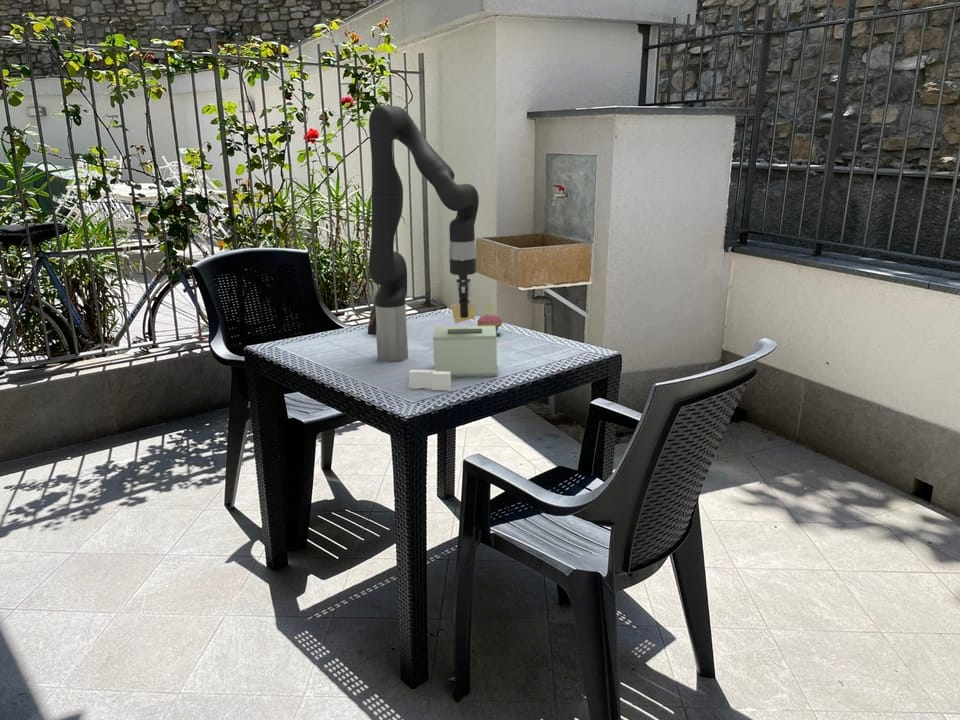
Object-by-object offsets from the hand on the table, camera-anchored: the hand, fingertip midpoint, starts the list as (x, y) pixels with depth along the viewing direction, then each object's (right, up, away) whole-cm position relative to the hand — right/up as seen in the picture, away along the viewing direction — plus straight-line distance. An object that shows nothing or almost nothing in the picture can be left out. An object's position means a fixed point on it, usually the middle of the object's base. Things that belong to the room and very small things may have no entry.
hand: (464, 315), depth 215 cm
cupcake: (+8, -4, +44) cm, 45 cm away
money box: (0, -16, +5) cm, 17 cm away
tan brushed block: (-3, +1, 0) cm, 3 cm away
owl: (-29, -3, +51) cm, 59 cm away
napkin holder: (-9, -21, -11) cm, 26 cm away
